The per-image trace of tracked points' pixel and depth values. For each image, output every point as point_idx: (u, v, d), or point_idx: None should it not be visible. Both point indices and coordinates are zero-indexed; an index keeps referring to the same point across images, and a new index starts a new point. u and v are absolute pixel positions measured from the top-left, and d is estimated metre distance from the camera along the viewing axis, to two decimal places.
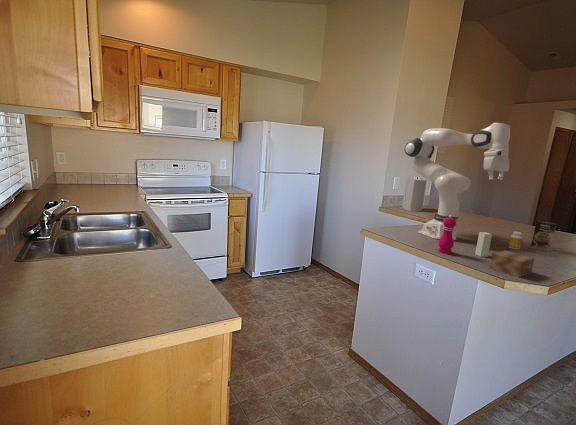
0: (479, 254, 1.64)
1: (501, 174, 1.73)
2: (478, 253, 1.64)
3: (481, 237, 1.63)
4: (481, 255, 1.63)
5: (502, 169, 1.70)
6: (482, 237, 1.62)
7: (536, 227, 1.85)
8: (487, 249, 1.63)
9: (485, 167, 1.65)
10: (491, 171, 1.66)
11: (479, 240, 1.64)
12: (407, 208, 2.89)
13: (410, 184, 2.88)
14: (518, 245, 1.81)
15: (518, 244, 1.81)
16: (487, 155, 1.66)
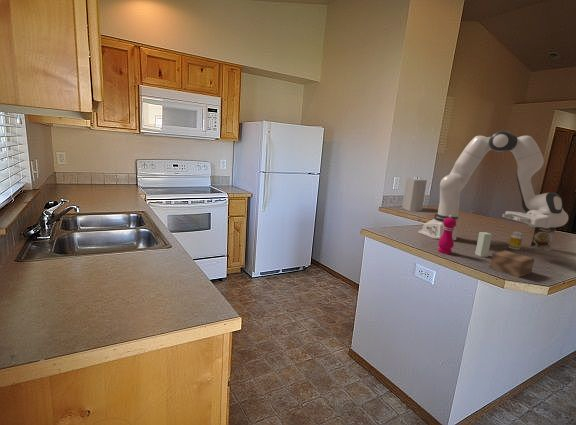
0: (479, 254, 1.64)
1: None
2: (478, 253, 1.64)
3: (481, 237, 1.63)
4: (481, 255, 1.63)
5: None
6: (482, 237, 1.62)
7: (536, 227, 1.85)
8: (487, 249, 1.63)
9: (539, 220, 1.53)
10: (528, 221, 1.57)
11: (479, 240, 1.64)
12: (407, 208, 2.89)
13: (410, 184, 2.88)
14: (518, 245, 1.81)
15: (518, 244, 1.81)
16: (547, 219, 1.55)
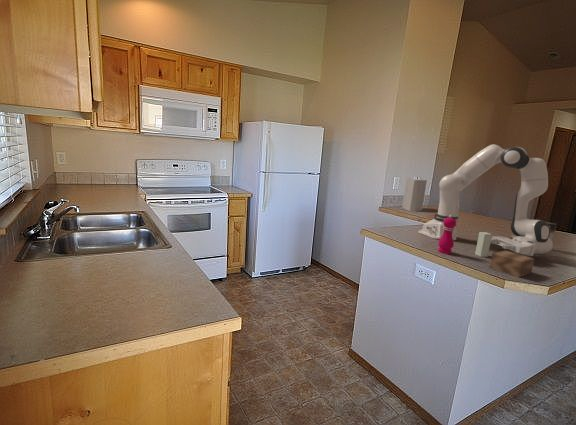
0: (479, 254, 1.64)
1: None
2: (478, 253, 1.64)
3: (481, 237, 1.63)
4: (481, 255, 1.63)
5: None
6: (482, 237, 1.62)
7: None
8: (487, 249, 1.63)
9: (523, 249, 1.56)
10: (513, 249, 1.59)
11: (479, 240, 1.64)
12: (407, 208, 2.89)
13: (410, 184, 2.88)
14: None
15: None
16: (532, 247, 1.58)
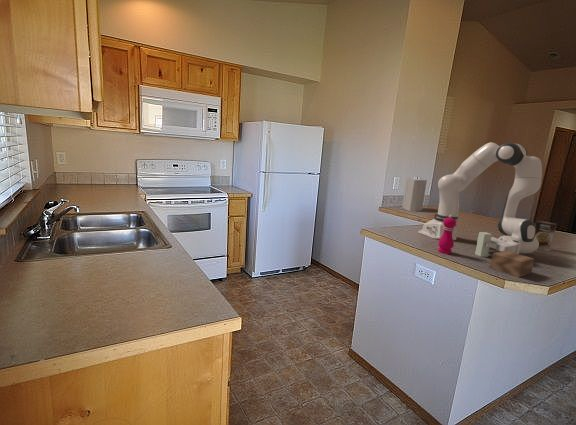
0: (479, 254, 1.64)
1: None
2: (478, 253, 1.64)
3: (481, 237, 1.63)
4: (481, 255, 1.63)
5: None
6: (482, 237, 1.62)
7: (536, 227, 1.85)
8: (487, 249, 1.63)
9: (508, 248, 1.55)
10: (495, 247, 1.60)
11: (479, 240, 1.64)
12: (407, 208, 2.89)
13: (410, 184, 2.88)
14: None
15: None
16: (517, 247, 1.57)
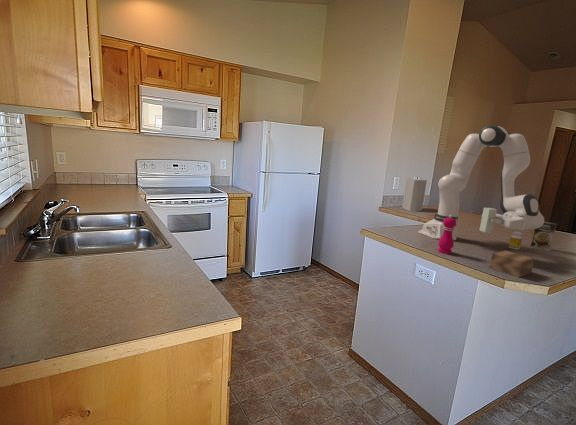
0: (484, 230, 1.61)
1: None
2: (483, 229, 1.62)
3: (486, 212, 1.60)
4: (486, 231, 1.61)
5: None
6: (487, 213, 1.60)
7: None
8: (492, 225, 1.60)
9: (513, 222, 1.52)
10: (500, 222, 1.58)
11: (484, 216, 1.62)
12: (407, 208, 2.89)
13: (410, 184, 2.88)
14: (518, 245, 1.81)
15: (518, 244, 1.81)
16: (522, 221, 1.54)
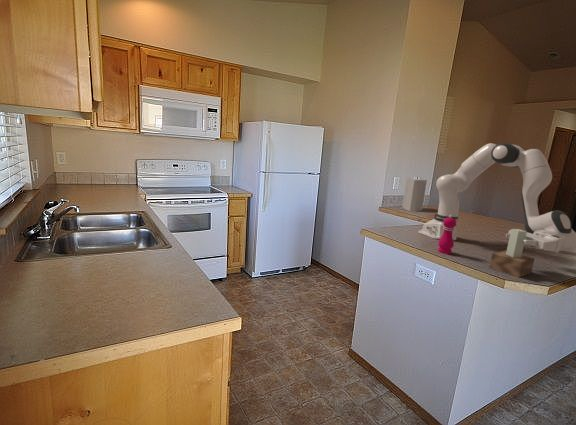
0: (511, 254, 1.42)
1: None
2: (510, 253, 1.43)
3: (514, 235, 1.41)
4: (514, 255, 1.41)
5: None
6: (515, 235, 1.41)
7: None
8: (521, 249, 1.41)
9: (548, 244, 1.33)
10: (535, 244, 1.36)
11: (511, 238, 1.43)
12: (407, 208, 2.89)
13: (410, 184, 2.88)
14: None
15: None
16: (558, 243, 1.35)
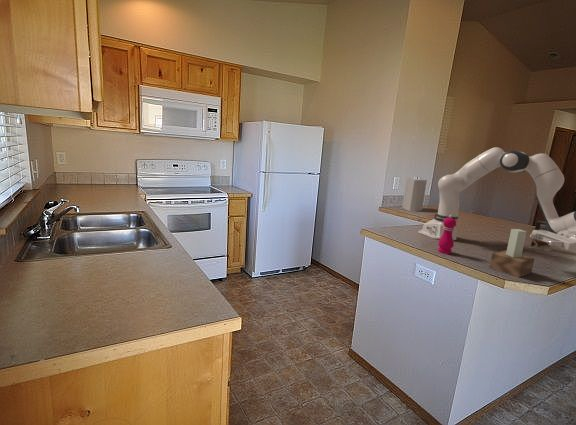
0: (511, 254, 1.42)
1: None
2: (510, 253, 1.43)
3: (514, 235, 1.41)
4: (514, 255, 1.41)
5: (545, 241, 1.47)
6: (515, 235, 1.41)
7: (536, 227, 1.85)
8: (521, 249, 1.41)
9: (573, 245, 1.35)
10: (561, 245, 1.38)
11: (511, 238, 1.43)
12: (407, 208, 2.89)
13: (410, 184, 2.88)
14: None
15: None
16: None
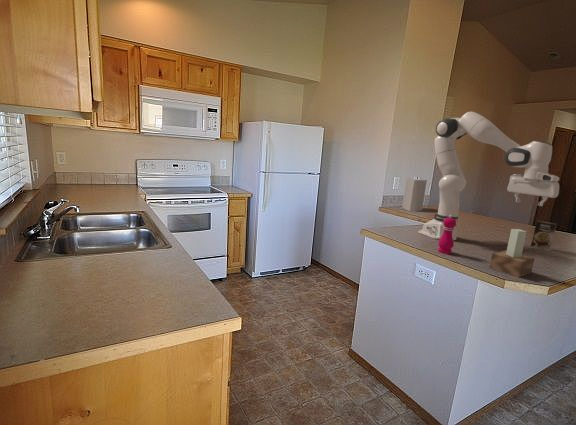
0: (511, 254, 1.42)
1: (517, 196, 1.59)
2: (510, 253, 1.43)
3: (514, 235, 1.41)
4: (514, 255, 1.41)
5: None
6: (515, 235, 1.41)
7: (536, 227, 1.85)
8: (521, 249, 1.41)
9: (556, 195, 1.45)
10: (547, 197, 1.49)
11: (511, 238, 1.43)
12: (407, 208, 2.89)
13: (410, 184, 2.88)
14: None
15: None
16: (555, 180, 1.45)
